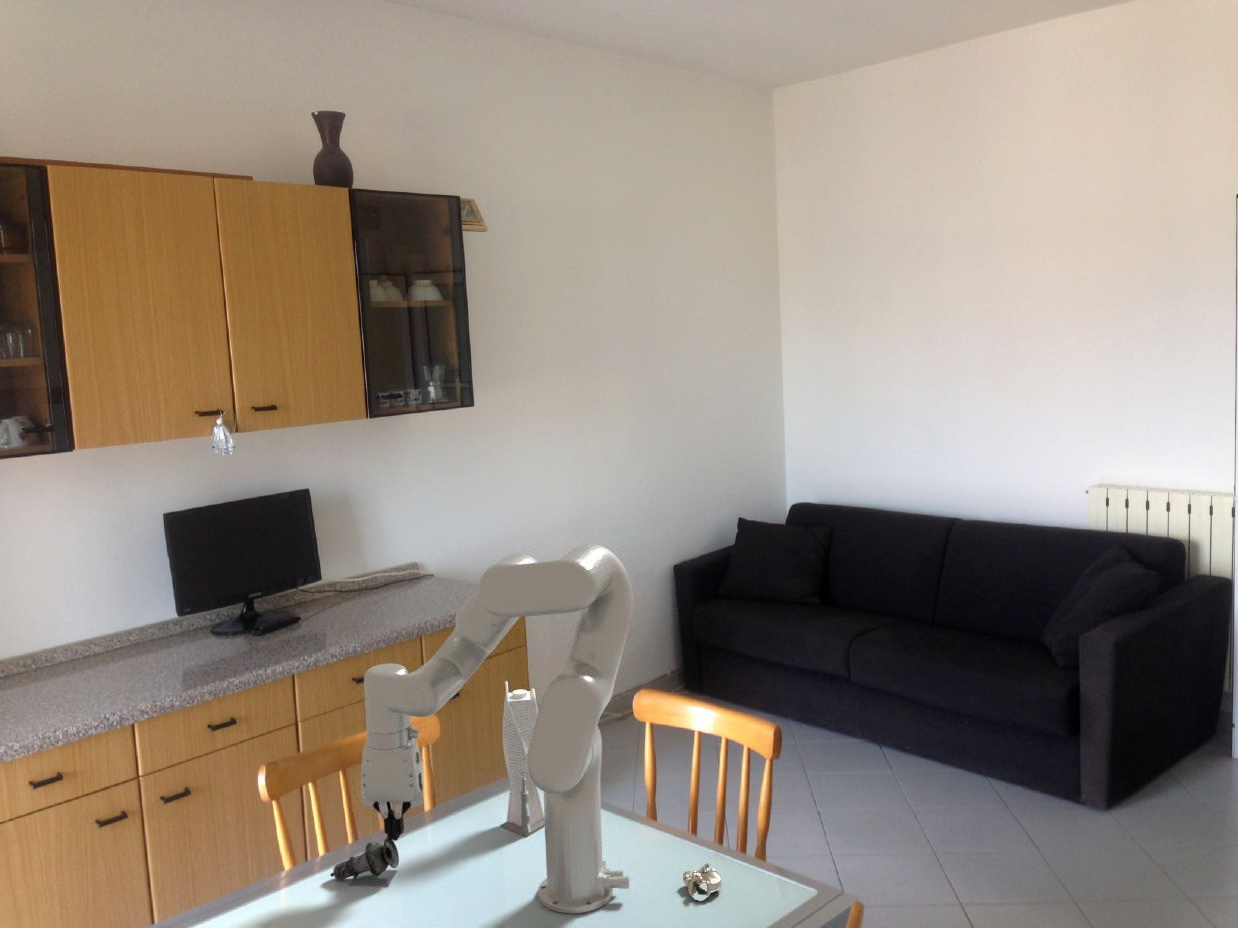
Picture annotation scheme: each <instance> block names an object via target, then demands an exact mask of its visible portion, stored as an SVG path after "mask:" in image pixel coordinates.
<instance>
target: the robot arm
mask: <svg viewBox="0 0 1238 928" xmlns="http://www.w3.org/2000/svg"><path fill="white" fill-rule="evenodd" d="M633 608H634V591H633V585H632V581H631V578H630V574H629V572H628V570H627V569H626V567H625V565H624V564H623V562H622V561H621V560H620V559H619V557H618V556H616V554H615V553H613V552H612V551H611V550H610V549H608V548H606V547H605V546H603V545H599V544H595V543H594V544H593V543H588V544H582V545H580V546H577V547H575V548H574V549H572V550H570V551H569V552H568V553H567V554H566V555H564V556H563V557H562V558H560V559H556V560H549V561H548V560H547V561H540V562H539V561H538V560H537V559H535V558H534V557H532V556H531V555H528V554H526V553H512V554H509V555H506V556H504V557H502V558H501V559H500V560H499V561H497V562H495V563H494V564H492V565H491V566H489V567H488V568H486V570H485V571H484V572H483V573H482V575H481V577H480V579H479V581H478V585H477V589H476V590H475V592H473V594H472V595H471V596H470V597H469V599H468V600H467V601H466V602H465V604H464V605H463V606H462V607H461V609H460V610H459V611H458V612H457V614H456V615H455V618H454V621H455V627H454V629H453V631H452V632H451V633H450V635H449V636H448V637H447V639H446V640H445V642H443V644H441V646H440V647H439V649H438V650H437V651H436V652H435V654H433V656H432V657H431V658H430V659H429V660H428V661H427V662H425V663H424V664H422V665H421V666H420V667H419V668H418V669H416V670H414V671H412V672H409V671H408V670H407V668H406V666H404V665H402V664H398V663H392V662H391V663H380V664H376V665H373V666H371V667H370V668H368V669H367V670H366V671H365V673H364V676H363V684H364V685H363V686H364V687H363V688H364V689H363V690H364V704H365V705H364V706H365V720H366V721H365V722H366V723H365V724H366V740H367V741H366V742H365V744H364V745H363V751H362V758H361V768H360V769H361V771H360V792H361V797H362V798H361V799H362V800H361V804H362V805H363V806H364V807H370V808H374V809H375V811H377V813H379V814H380V816H381V818H382V819H383V825H384V828H383V830H384V834H386V838H387V839H388V840H389V841H391V840H393V842H396V841H398V840H399V838H400V836H401V835H402V834H403V833H404V831H405V824H404V823H405V822H404V814H405V813H406V812H407V811H408V810H410V809H411V808H417V807H421V806H422V805H423V803H424V802H425V800H424V797H423V793H422V792H423V790H424V786H425V785H424V784H425V783H424V782H425V780H424V772H423V764H422V758H421V753H420V748H419V744H418V741H417V740H416V739H417V738H418V739H419V738H420V732H421V731H420V730H419V729H414V727H413V724H412V720H411V717H416V718H427V717H431V716H433V715H434V714H436V713H437V712H438V711H439V710H440V709H441V708H442V707H443V706H444V705H445V704H446V703H447V702H448V701H449V700H450V699H452V698H453V697H454V696H455V695H456V694H457V693H458V692H459V691H460V690H461V689H462V688H463V686H464V685H466V683H467V681H468V680H469V679H471V677H472V676H473V674H475V672H476V671H477V670H478V668H479V667H480V666H481V665H482V664H483V662H484V661H485V660H486V659H487V657H488V656H489V654H490V653H492V652H493V651H494V650H495V649H496V647H497V646H498V645H499V643H500V642H502V640H503V639H504V637H505V636H506V635H507V634H508V632H509V631H510V630H511V629H512V628H513V626H515V625H516V623H517V621H518V620H519V619H520V618H525V617H527V618H528V617H538V616H550V615H552V616H553V615H560V614H561V615H562V614H570V613H571V614H572V613H577V612H579V611H580V614H579V617H578V620H577V623H576V625H575V629H574V632H573V638H572V639H571V644H570V647H569V651H568V652H567V653H568V654H567V657H566V660H565V661H564V663H563V665H562V666H561V667H560V668H559V670H558V671H557V673H556V674H555V675H554V676H553V677H552V679H550V682H549V683H548V685H547V687H546V689H545V691H544V693H543V696H542V699H541V702H540V705H539V709H538V715H537V719H536V723H535V726H534V730H533V733H532V737H531V740H530V744H529V748H528V752H527V757H526V766H527V771H528V774H529V777H530V779H531V780H532V782H533V783H534V784H535V785H536V786H537V788H538V790H540V791H542V792H543V813H544V820H545V827H544V838H545V839H544V840H545V842H544V843H545V868H546V878H545V879H543V880H542V882H541V883H540V884H539V886H538V890H537V893H538V896H537V897H538V899H539V901H540V903H541V904H542V905H543V906H544V907H546V908H547V909H549V910H550V911H554V912H556V913H562V914H581V913H583V914H584V913H588V912H591V911H594V910H597V909H599V908H601V907H603V906H604V905H606V904H607V903H608V902H609V901H610V900H611V898H612V896H613V891H614V889H619V890H620V889H621V890H622V889H625V890H626V889H627V890H628V889H630V875H629V876H625V875H624V870H610V868H607V861H606V860H603V843H602V842H603V841H602V840H603V837H602V834H603V833H602V814H601V813H602V810H601V809H602V808H601V806H602V799H601V794H602V793H601V771H602V755H603V751H602V750H603V746H602V745H603V740H602V735H601V731H600V727H599V726H598V724H599V722H600V719H601V716H602V714H603V712H604V710H605V709H606V707H607V706H608V704H609V702H610V700H611V699H612V696H613V693H614V692H613V691H614V690H615V689H614V688H615V683H616V679H617V676H618V671H619V667H620V664H621V661H622V658H623V653H624V650H625V649H624V648H625V644H626V640H627V636H628V632H629V629H630V626H631V620H632V616H633V610H634V609H633ZM392 803H395V807H394V810H393V805H392Z"/></svg>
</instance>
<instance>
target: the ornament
mask: <svg viewBox="0 0 1238 928" xmlns="http://www.w3.org/2000/svg"><path fill="white" fill-rule="evenodd" d="M709 868H710V863H705V864H704V865H702V867H700V868H699V869H698V870H693V871H692V872H691V871H690V870H688V871H684V872H683V874H682V881H683V883H684V885H685V886H686V887H687V888H688V889H687V890H688V893H689V895H690V896H694V893H696V889H697V888H696V887H699V886H700V885H701V883H702V884H706V886H707V893H706V892H705V893H706V896H708V895H709V893H710V891H713V890H717V889H718V888H719V887H721V888H722V880H721V878H722V876H721V874H720V873H718V872H717V870H716V868H715V867H712V868H711V869H709Z"/></svg>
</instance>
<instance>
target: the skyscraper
mask: <svg viewBox="0 0 1238 928" xmlns="http://www.w3.org/2000/svg"><path fill="white" fill-rule="evenodd" d="M508 684H509V683H508V681H507V680H505V681H504V688H505V695H504V705H503V716H502V746H503V747H502V748H503V755H504V762H505V767H506V770H507V772H506V773H507V775H508V780H509V783H510V786H509V794H508V795H509V797H508V803H507V804H508V805H507V815H506V821H505V822H503V823H501V824H500V825H499V828H501V829H504V830H507V831H510V832H512V833H514V834H518V835H521V836H522V837H526V838H528V837H529V836H532V834H534V833H536V832H538V831H540V830H542V829H543V828H545V820H544V807H543V804H542V801H541V797H540V792H539V788H538V787H537V786H536V785H535V784H534V783H533V782H532V780H531V779H530V777H529V774H528V771H527V766H526V757H527V752H528V748H529V744H530V740H531V737H532V733H533V730H534V726H535V723H536V719H537V715H538V712H539V709H538V703H537V700H536V699H537V698H536V691H535V688H534V687H532V688H531V691H530V690H529V691H528V690H526V689H515V690H513V691H512V692H509V686H508Z"/></svg>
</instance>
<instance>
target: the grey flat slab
mask: <svg viewBox="0 0 1238 928" xmlns="http://www.w3.org/2000/svg"><path fill="white" fill-rule="evenodd" d="M397 870H398V869H386V870H385V871H384V872H383V873H381V874H380V875H379V876H374V875H373V874H372V873H371V872H370V871H366V872H363V873H361V874H359V875H358V876H357V877H354V876H352V879H351V881H350V882H349V883H348V887H389V886H390V884H391V882H392V881H393V879H394V877H395V875H396V873H397Z"/></svg>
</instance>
